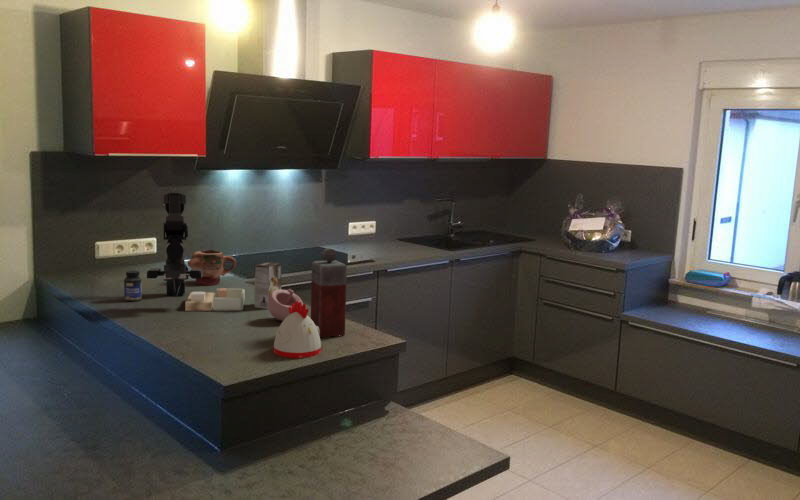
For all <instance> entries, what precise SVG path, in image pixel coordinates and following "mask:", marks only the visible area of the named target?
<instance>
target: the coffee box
mask: <svg viewBox="0 0 800 500" xmlns="http://www.w3.org/2000/svg"><path fill="white" fill-rule="evenodd" d="M277 289H282V263H281V262H272V261H266V262H262V263H258V264H255V265H254V308H258V309H264V310H269V309H268V299H269V296H270V295H271V293H272V292H273V291H274V290H277Z"/></svg>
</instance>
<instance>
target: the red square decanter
mask: <svg viewBox="0 0 800 500" xmlns="http://www.w3.org/2000/svg"><path fill="white" fill-rule="evenodd" d="M321 256H322V259H323V260H315V261H312V262H311V279H310V281H311V283H310V284H311V286H310V288H311V289H310V318H311V320H312V321H313V322H314V324H315V325H316V326H318V327H319V330H320V333H319V337H327V338H331V337H330V336H338V337H340V336H339V335H345V336H346V313H347V311H346V310H347V309H346V308H347V306H346V305H347V277H348V275H347V274H348V272H347V271H348V268H347V264H345V263H343V262H341V261H338V260H336V259H337V257H338V255H337V251H336V250H335V249H333V248H331V247H327V248H325V249H323V250H322V254H321Z"/></svg>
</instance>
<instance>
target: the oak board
mask: <svg viewBox="0 0 800 500" xmlns="http://www.w3.org/2000/svg"><path fill="white" fill-rule="evenodd" d="M192 292H193V291H191V292H190V293H189V295H188V297H187V299H186V300H185V302H184V303H185V304H184V307H185V309H184V310H185V311H186V312H187V311H188V312H189V311H191V312H192V311H198V312H199V311H200V312H202V311H204V312H205V311H210V312H211V311H213V298H216V292H205V300H204V301H191V294H192Z"/></svg>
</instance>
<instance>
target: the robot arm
mask: <svg viewBox="0 0 800 500" xmlns="http://www.w3.org/2000/svg"><path fill="white" fill-rule="evenodd" d="M162 197H163V199H162V201H163V203H162V205H163V206H165V207H164V208H165V212H166V213H167V216H165V222H163V241H166V249H165V251H166V260H165V264H163V270H161V268H159V267H158V268H157V267H154V268H153V267H151V268H150V269H148V270H147V271H146V279H157V278H158V277H163V281H166V293H165V296H166V297H174V298H177V297H178V296H179V297H182V296H184V295H185V294H186V291H187V290H186V288H187V287H186V284H187V283H186V281H187V280H189V277H190V278H191V279H195V280H196V279H201V278H202V276H203V270H202V269H192V268H190V270H189V267H188V265H187V264H186V263H185V262H186V261H185V259H184V241H186V240H187V238H189V231H188V229H189V228H188V225H187V223H186V222H185V217H184V215H182V214H183V213H184V211H185V207H186V206H187V195H186V194H183V193H181V192H178V191H177V192H176V191H175V192H173V191H170V192H167V193H166V194H163V196H162Z"/></svg>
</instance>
